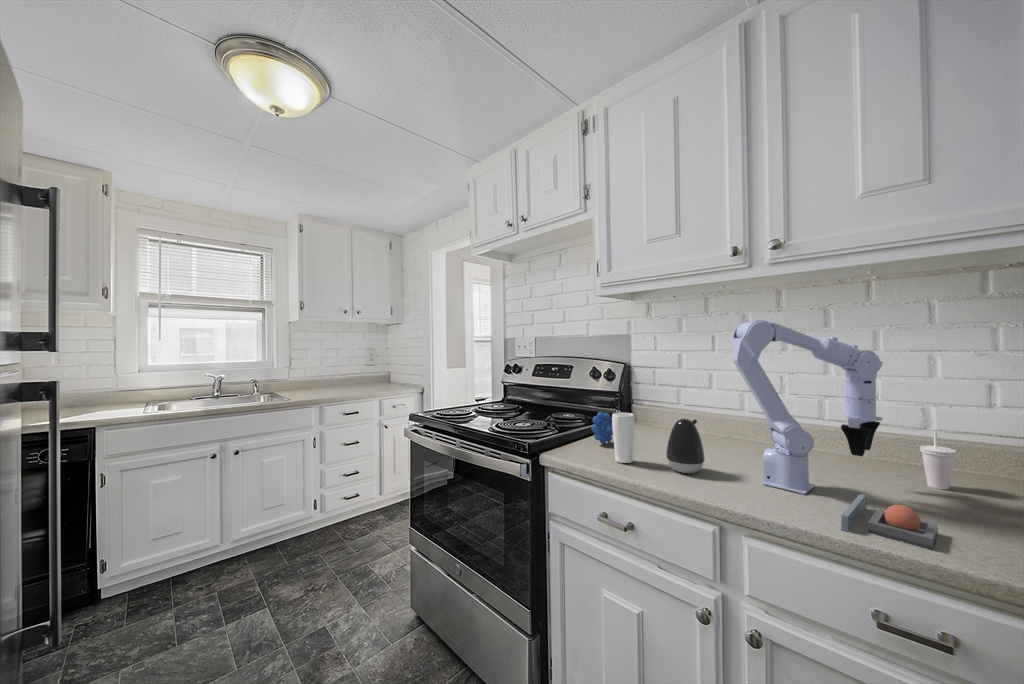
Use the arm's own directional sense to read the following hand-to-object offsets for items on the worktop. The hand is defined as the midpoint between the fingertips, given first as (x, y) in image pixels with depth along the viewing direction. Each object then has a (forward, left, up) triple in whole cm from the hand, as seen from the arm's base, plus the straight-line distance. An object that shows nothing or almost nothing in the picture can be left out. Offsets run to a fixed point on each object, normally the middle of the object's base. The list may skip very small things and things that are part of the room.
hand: (860, 452), depth 100 cm
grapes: (-69, -12, -10) cm, 71 cm away
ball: (+10, -23, -6) cm, 26 cm away
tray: (+10, -22, -9) cm, 26 cm away
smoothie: (+12, +16, -10) cm, 22 cm away
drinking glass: (-53, -24, -10) cm, 59 cm away
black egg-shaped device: (-36, -18, -10) cm, 41 cm away
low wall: (+3, -21, -9) cm, 23 cm away
